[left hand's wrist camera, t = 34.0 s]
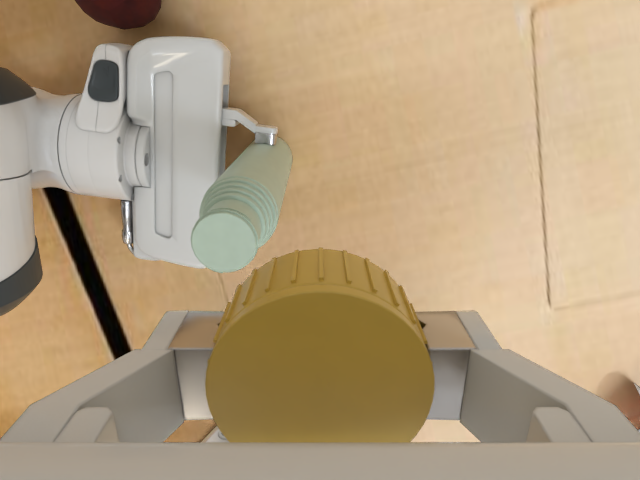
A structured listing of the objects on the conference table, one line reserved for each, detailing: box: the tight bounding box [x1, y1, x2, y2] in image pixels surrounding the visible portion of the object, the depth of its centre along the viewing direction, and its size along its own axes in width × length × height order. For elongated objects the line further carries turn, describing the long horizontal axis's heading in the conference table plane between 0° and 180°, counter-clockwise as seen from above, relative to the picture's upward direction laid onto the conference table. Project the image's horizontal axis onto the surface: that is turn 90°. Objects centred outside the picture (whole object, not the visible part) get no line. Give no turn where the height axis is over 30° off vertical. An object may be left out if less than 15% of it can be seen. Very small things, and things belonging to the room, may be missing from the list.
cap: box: [205, 248, 435, 442], centre depth 9 cm, size 4×4×2 cm
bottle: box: [190, 137, 292, 273], centre depth 33 cm, size 5×5×24 cm
